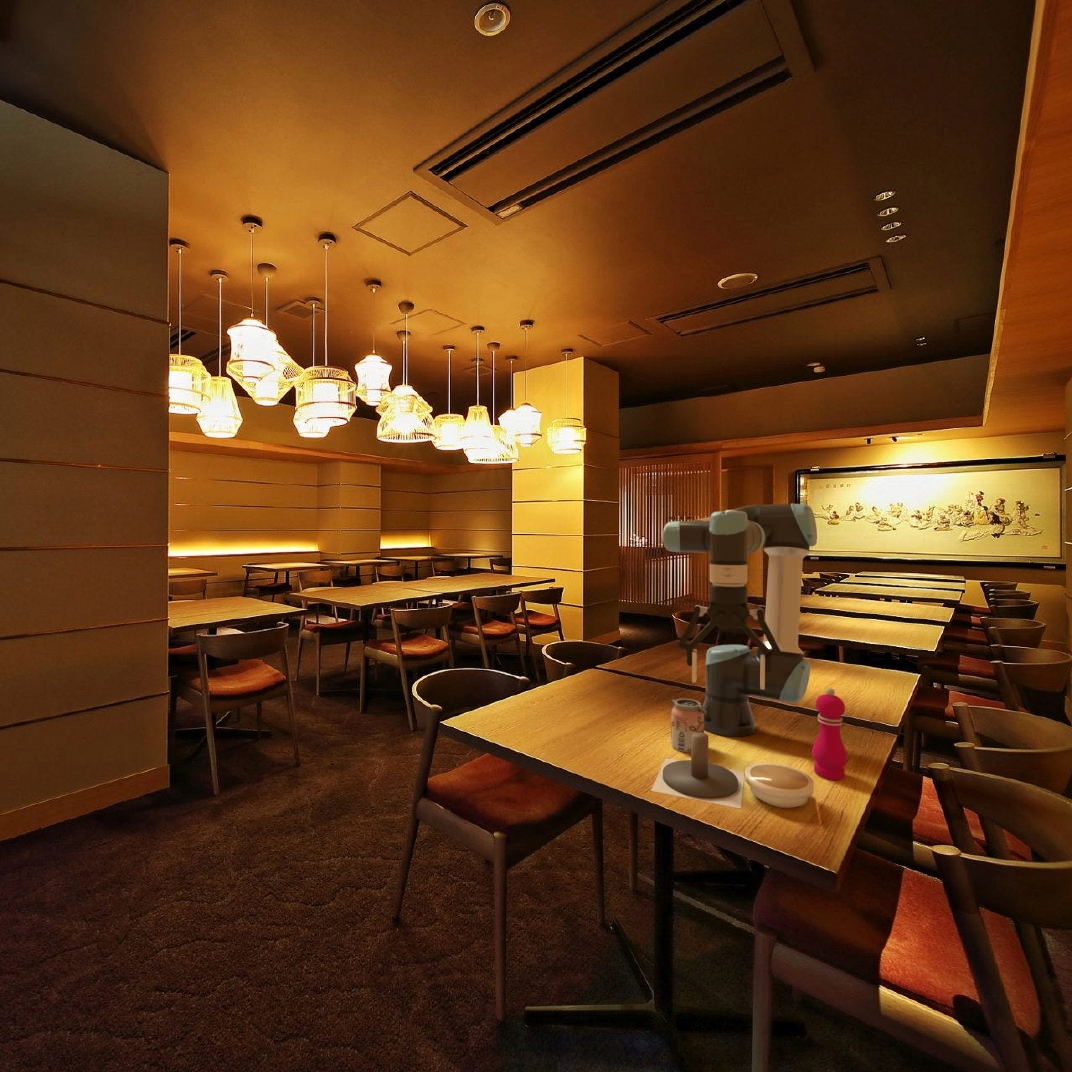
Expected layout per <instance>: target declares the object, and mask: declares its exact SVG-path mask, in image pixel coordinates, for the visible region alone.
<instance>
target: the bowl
mask: <svg viewBox="0 0 1072 1072" xmlns="http://www.w3.org/2000/svg"><path fill="white" fill-rule="evenodd" d="M744 772H745V773H744V781H745V782H746V783H747V785H748V786H749V789H750V792H751V793H752V795H753V796H754V797H756V798H758V799H759V800H761V801H763V802H764V803H767V804H768V805H770V806H774V807H778V808H784V809H785V808H787V809H788V808H789V809H790V808H795V807H801V806H804V805H806V804H807V803H808V802H809V797H810V796H812V795H813V794H814V791H815V789H814V787H815V786H814V785H815V782H814V780H813V778H812V777H810V775H809V774H807V773H806V772H803V771H802V770H800V769H797V768H795V767H792V766H788V765H784V764H780V763H779V764H778V763H773V762H772V763H771V762H759V763H754V764H750V765H749V766H747V767H746V768H745V770H744Z"/></svg>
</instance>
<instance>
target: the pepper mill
mask: <svg viewBox="0 0 1072 1072" xmlns="http://www.w3.org/2000/svg"><path fill="white" fill-rule="evenodd" d="M835 694H836V692H835V689H833V688H831V687H828V688H827V689H826V690H825V693H824V694H822V695H819V696H818V697H817V698H816V700H815V709H816V711H817V712H818V715H817V721H818V723H819V732H818V736H817V738H816V739H815V740H814V743H813V745H812V748H811V749H812V750H811V751H812V752H811V756H812V758H813V759H814V761H815V763H814V765H813V772H814V774H815V775H817V776H819V777H820V778H822V779H826V780H829V781H830V780H831V781H841V780H844V779H845V778H846V777H845V776H846V770H845V767H844V766H846V764H847V763H848V759H849V758H848V754H847V750H846V748H845V745H844V743H843V740H842V736H841V726H842V725H843V717H842V716H843V715H844V714H845V711H846V706H845V703H844V701H843V699H842V698H840V697H839V696H837V695H835Z"/></svg>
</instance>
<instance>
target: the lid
mask: <svg viewBox="0 0 1072 1072" xmlns="http://www.w3.org/2000/svg"><path fill="white" fill-rule="evenodd" d="M690 754H691V758H690V759H685V760H684V759H683V760H680V761H676V762H672V763H670V764H668V765H666V766H665V767H664V769H663V780H664V782H665V783H666V784H667V785H668V786H669V787H670V788H672V789H673V790H675V791H677V792H680V793H682V794H685V795H688V796H692V797H697V798H705V799H718V798H725V797H728V796H731V795H733V794H734V793H735V792H736V791H737V789H738V779H737V777H736V776H735V775H734V774H733V773H732V772H731V771H729V770H728V769H729V768H726V767H723V766H722V765H718V764H716V763H714V762H713V763H712V762H709V734H707V733H705V732H704V733H701V732H694V733H692V742H691V753H690Z"/></svg>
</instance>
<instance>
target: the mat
mask: <svg viewBox="0 0 1072 1072" xmlns="http://www.w3.org/2000/svg"><path fill="white" fill-rule="evenodd" d="M676 761H681V759H680V760H679V759H673V758H665V759H664V761H663V763H662V765H661V768H660V769H659V771H658V774H657V776H656V779H655V781H654V783H653V785H652V788H651V790H650V791H651V792H655V793H658V794H664V795H670V796H673V797H679V798H684V799H690V800H695V801H699V802H704V803H708V804H714V805H718V806H724V807H730V808H735V809H740V810H741V809H742V801H743V791H744V790H743V789H744V781H745V770H744V771H742V770H737V769H731V768H727V769H728V770H729V771H731V772H732V773H733V774H734V775H735V776H736V777H737V779H738V789H737V791H736V792H735V793H734V794H733V795H731V796H728V797H725V798H718V799H705V798H697V797H692V796H688V795H685V794H682V793H680V792H677V791H675V790H673V789H672V788H670V787H669V786H668V785H667V784H666V783H665V782H664V780H663V769H664V767H665V766H666V765H668V764H670V763H672V762H676Z"/></svg>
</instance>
